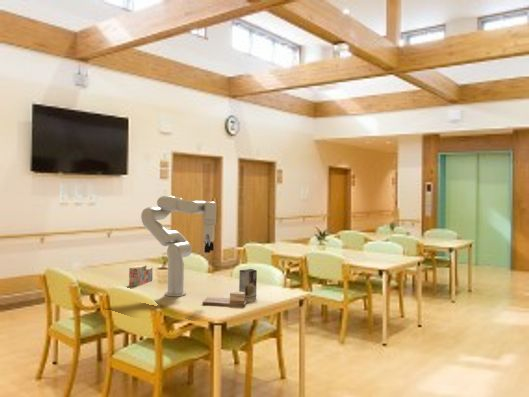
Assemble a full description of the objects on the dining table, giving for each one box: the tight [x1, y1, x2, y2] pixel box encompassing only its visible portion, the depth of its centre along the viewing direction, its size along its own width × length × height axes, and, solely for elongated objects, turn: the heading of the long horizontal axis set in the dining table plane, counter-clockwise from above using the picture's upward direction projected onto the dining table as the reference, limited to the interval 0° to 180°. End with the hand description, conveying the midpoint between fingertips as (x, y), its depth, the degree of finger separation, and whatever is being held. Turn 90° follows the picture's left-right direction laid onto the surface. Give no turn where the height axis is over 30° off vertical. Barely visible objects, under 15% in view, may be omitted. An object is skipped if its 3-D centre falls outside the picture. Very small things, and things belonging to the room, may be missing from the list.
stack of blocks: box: [128, 264, 154, 288], centre depth 318 cm, size 21×6×12 cm, turn 167°
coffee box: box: [238, 268, 258, 299], centre depth 288 cm, size 9×6×16 cm
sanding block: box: [229, 290, 246, 303], centre depth 267 cm, size 5×8×5 cm, turn 84°
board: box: [201, 296, 249, 308], centre depth 268 cm, size 12×24×2 cm, turn 84°
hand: (209, 251), depth 277 cm, fingers open, 9 cm apart
